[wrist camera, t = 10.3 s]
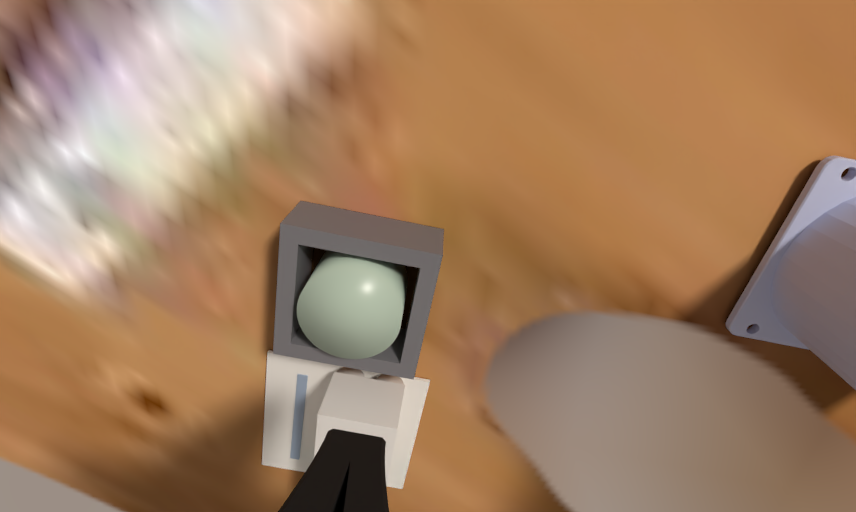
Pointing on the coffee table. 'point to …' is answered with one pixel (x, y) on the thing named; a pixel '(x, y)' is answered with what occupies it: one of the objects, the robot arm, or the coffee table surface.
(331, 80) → the coffee table surface
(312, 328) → the button
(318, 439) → the eraser
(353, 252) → the button housing
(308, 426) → the paper
